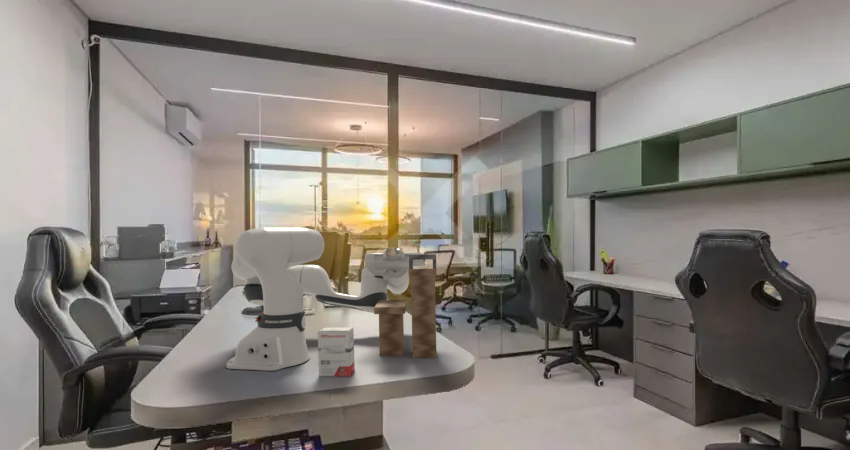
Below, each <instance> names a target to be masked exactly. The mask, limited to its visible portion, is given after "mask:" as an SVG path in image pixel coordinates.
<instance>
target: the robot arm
mask: <svg viewBox="0 0 850 450" xmlns="http://www.w3.org/2000/svg"><path fill="white" fill-rule="evenodd" d="M324 251H325V240H324V236H322V234H321V233H320V232H319V231H318V230H316V229H313V228H308V227H301V226H300V227H284V226H283V227H276V226H275V227H274V226H273V227H271V226H270V227H267V226H266V227H257V228H256V227H255V228H251V229H248V230H247V229H246V230H244V231H243V232H242V233H241V234H240V235H239V236H238V239H237V242H236V253H237V254H236V255H235V256H234V258H233V259H232V262H231V266H230V268H231V271H232V274H233V276H235V278H237V279H239V280H241V281H245V285H244V287H243V291H244V295H245V299H246V300H247V301H248V303H249V304H250V303H251V304H253V305H257V306H263V312H261V313H260V314H259V315H257V316H256V317H255V318H254V319H255V321H254V323H257V326H256V327H255V328H253V330H251V331H250V332H249V333H248V334H246V335H245V336H244V337H243V338H242V339H240V341H238V344H237V346H236V350H235V356H233V357H232V358H230V359H229V360H227V361H226V368H227V369H229V370H230V369H233V370H253V371H272V372H273V371H279V370H281V369H284V368H288V367H293V366H297V365H301V364H303V363H305V362H307V361H309V360H310V358H311V357H310V354H309V350H308V345H307V341H306V333H305V331H306V325H307V324H306V321H307V320H306V312H305V309H304V295H309V296H313V297H314V298H315V299H316V301H317V302H319V303H321V304H324V305H329V306H334V307H341V308H347V309H354V310H359V311H363V312H366V313H370V314H371V313H373V314H374V307H375V305H376V304H377V303H378V301H379V300H388V295H387V290H389V291H390V292H391V293H392V294H394V295H401V294H403V293H404V292H406V290H407V289H408V287H409V284H410V276H409V254H423V252H404V251H403V250H402V248H397V255H396V256H386V248H385V249H384V252H382V253H379V252H378V253H367V254H365V255H364V265H365V266H364V267H363V268H362V269H361V275H360V277H361V278H360V282H361V283H360V293H359V295H354V294H347V293H346V294H345V293H339V292H337V291H335V290H334V289H333V286H332V283H331V279H330V277H329V275H328V273H327V270H326V269H324V268H323V267H322V266H321V265H318V264H306V263H310V262H314V261H317V260H319V259H320V258H321V257H322V255H323V253H324ZM424 261H425V260H413V266H426V264H425V262H424Z"/></svg>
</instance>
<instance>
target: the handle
mask: <svg viewBox="0 0 850 450" xmlns="http://www.w3.org/2000/svg"><path fill="white" fill-rule="evenodd" d="M385 249H386V256H396V255H397V249H398V247H386V248H385Z"/></svg>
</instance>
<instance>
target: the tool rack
mask: <svg viewBox="0 0 850 450" xmlns="http://www.w3.org/2000/svg"><path fill="white" fill-rule="evenodd" d="M413 260H424V261H425V260H432V265H430V266H429V265H425V266H413ZM408 271H409V273H408V274H409V277H410V287H411V288H410V289H411V291H410V293H411V300H410V301H411V336H412V337H411V343H412V345H411V348H412V353H411V354H412V359H435V358H437V325H436V324H437V317H436V315H437V313H436V309H437V308H436V276H437V275H438V274H437V273H438V272H437V254H436V253H422V254H409V270H408ZM407 308H408V300H407V299H387V300H379V301H378V303H377V304H376V305H375V307H374V313H373V314H374V315H378V333H379V334H378V337H379V338H378V339H379V341H378V345H379V350H378V351H379V356H380V357H384V356H390V357H391V356H404V353H405V339H404V338H405V336H404V335H405V333H404V332H405V329H404V328H405V326H404V325H405V324H404V315H405V314H406V310H407Z"/></svg>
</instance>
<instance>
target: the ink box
mask: <svg viewBox="0 0 850 450" xmlns="http://www.w3.org/2000/svg"><path fill="white" fill-rule="evenodd" d="M354 334H355V333H354V326H353V327H349V326H348V327H323V328H321V329H320V330H318V331H317V350H318V352H317V355H318V357H317V358H318V376H319V377H351V376H352V375H353V373H354V372H355V371H356V369H355V338H354V336H355V335H354Z"/></svg>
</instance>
